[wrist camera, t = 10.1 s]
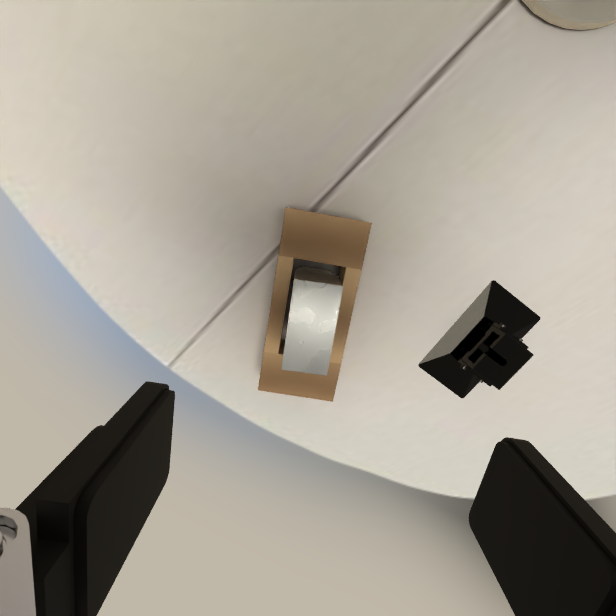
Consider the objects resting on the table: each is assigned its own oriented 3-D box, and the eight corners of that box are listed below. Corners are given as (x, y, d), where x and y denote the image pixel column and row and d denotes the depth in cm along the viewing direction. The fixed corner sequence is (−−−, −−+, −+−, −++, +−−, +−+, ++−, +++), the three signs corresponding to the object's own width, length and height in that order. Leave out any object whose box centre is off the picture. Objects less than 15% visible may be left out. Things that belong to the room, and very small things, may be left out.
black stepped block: (495, 259, 28) (531, 267, 24) (556, 310, 29) (601, 327, 25) (396, 370, 31) (411, 397, 26) (456, 413, 32) (480, 446, 27)
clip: (296, 263, 27) (294, 278, 21) (333, 268, 27) (343, 286, 21) (286, 333, 29) (281, 369, 22) (321, 338, 29) (326, 375, 22)
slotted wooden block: (287, 208, 26) (285, 207, 23) (364, 222, 26) (371, 222, 24) (262, 373, 30) (258, 390, 27) (330, 383, 30) (332, 401, 27)
